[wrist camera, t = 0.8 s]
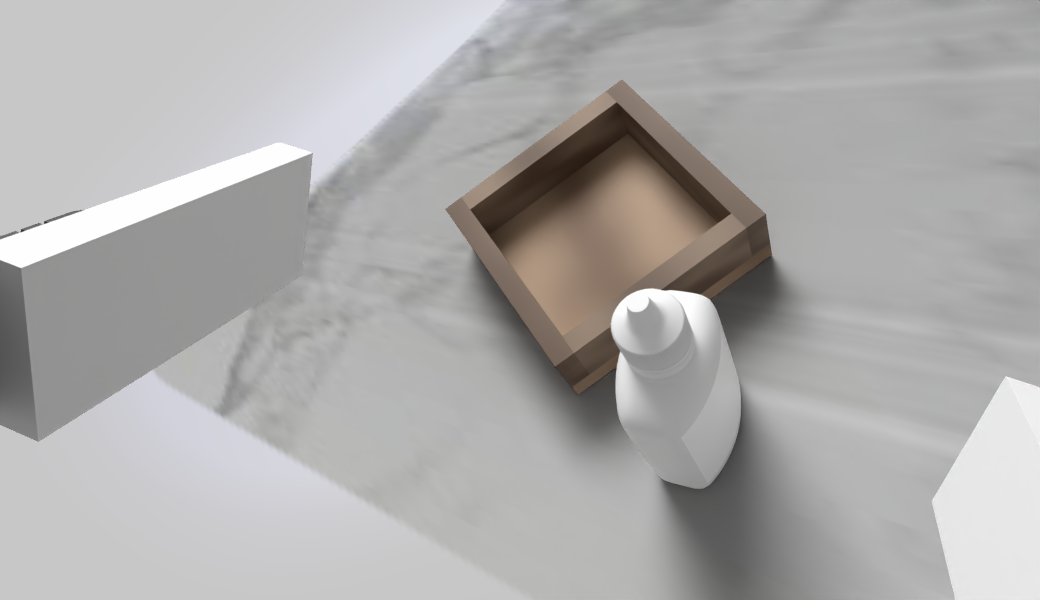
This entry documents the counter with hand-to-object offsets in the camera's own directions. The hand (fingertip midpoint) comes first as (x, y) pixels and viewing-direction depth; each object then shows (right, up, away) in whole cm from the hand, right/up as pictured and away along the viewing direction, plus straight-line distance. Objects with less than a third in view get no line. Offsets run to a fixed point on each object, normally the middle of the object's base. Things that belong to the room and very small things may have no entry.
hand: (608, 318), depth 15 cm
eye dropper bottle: (+6, -5, +19) cm, 21 cm away
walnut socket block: (+3, +3, +24) cm, 25 cm away
